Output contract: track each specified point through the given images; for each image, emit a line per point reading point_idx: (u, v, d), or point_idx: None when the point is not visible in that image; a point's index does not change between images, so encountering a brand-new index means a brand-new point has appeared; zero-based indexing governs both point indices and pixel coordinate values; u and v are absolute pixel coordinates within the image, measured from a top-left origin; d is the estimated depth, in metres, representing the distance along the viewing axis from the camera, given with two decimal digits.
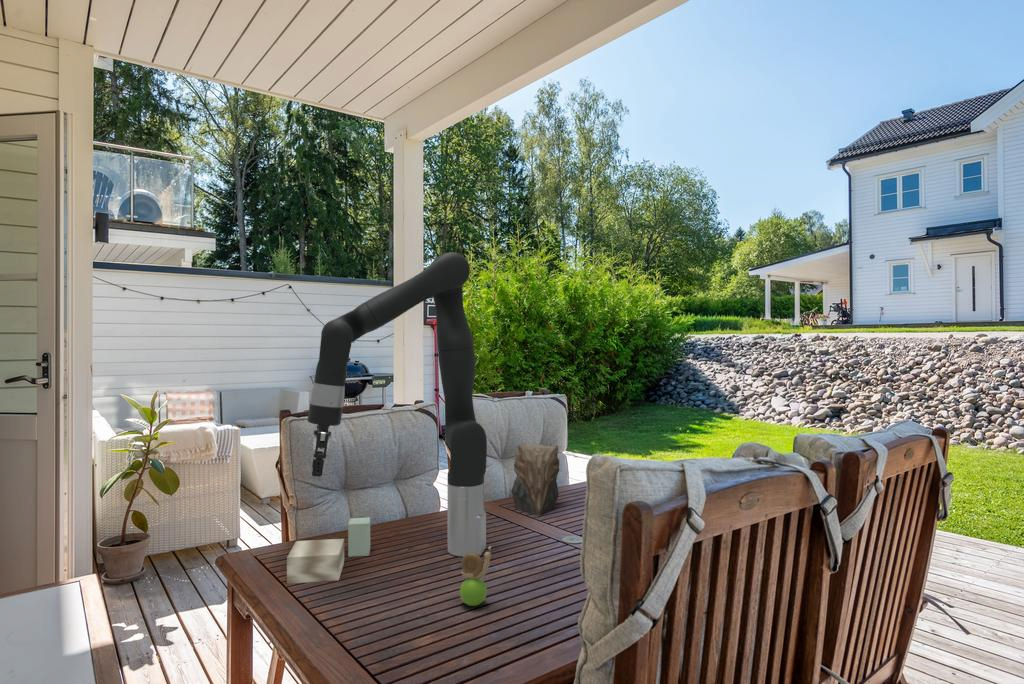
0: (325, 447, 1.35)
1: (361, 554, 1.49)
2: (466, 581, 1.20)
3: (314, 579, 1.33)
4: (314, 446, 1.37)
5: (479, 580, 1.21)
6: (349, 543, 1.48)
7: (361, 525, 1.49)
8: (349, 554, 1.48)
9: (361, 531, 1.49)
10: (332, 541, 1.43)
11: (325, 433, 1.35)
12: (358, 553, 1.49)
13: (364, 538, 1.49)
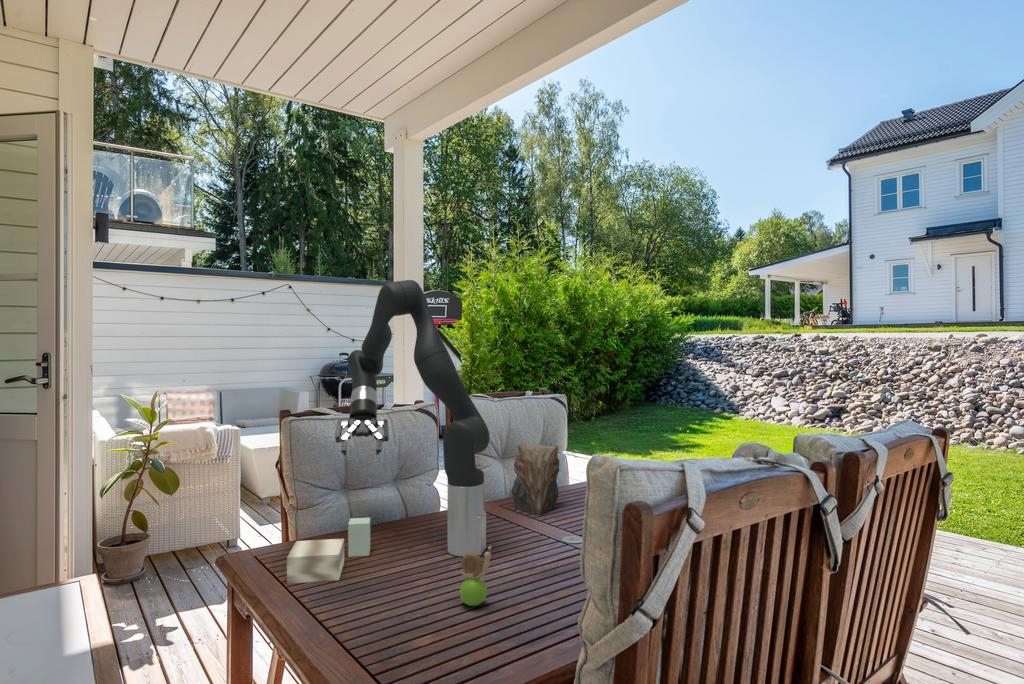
0: None
1: (361, 554, 1.49)
2: (466, 581, 1.20)
3: (314, 579, 1.33)
4: None
5: (479, 580, 1.21)
6: (349, 543, 1.48)
7: (361, 525, 1.49)
8: (349, 554, 1.48)
9: (361, 531, 1.49)
10: (332, 541, 1.43)
11: None
12: (358, 553, 1.49)
13: (364, 538, 1.49)
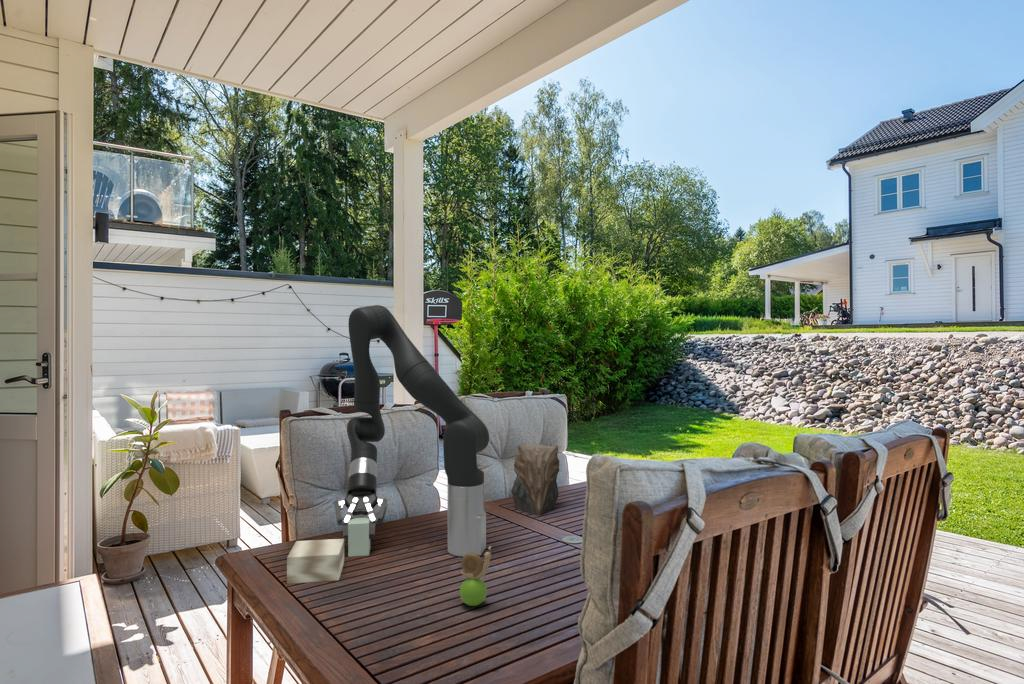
0: None
1: (361, 554, 1.49)
2: (466, 581, 1.20)
3: (314, 579, 1.33)
4: None
5: (479, 580, 1.21)
6: (349, 543, 1.48)
7: (361, 524, 1.49)
8: (349, 554, 1.48)
9: (361, 530, 1.49)
10: (332, 541, 1.43)
11: None
12: (358, 553, 1.49)
13: (364, 538, 1.49)
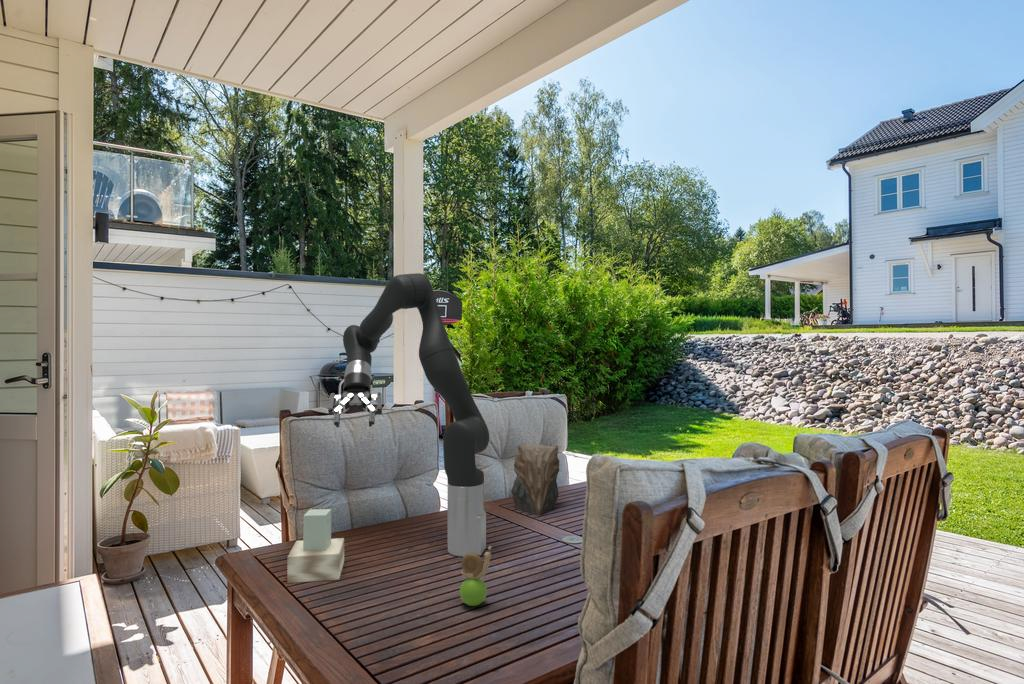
0: None
1: (317, 549, 1.36)
2: (466, 581, 1.20)
3: (314, 578, 1.33)
4: None
5: (479, 580, 1.21)
6: (304, 536, 1.36)
7: (318, 517, 1.36)
8: (304, 548, 1.36)
9: (318, 523, 1.36)
10: (332, 540, 1.43)
11: None
12: (314, 547, 1.36)
13: (320, 531, 1.36)
